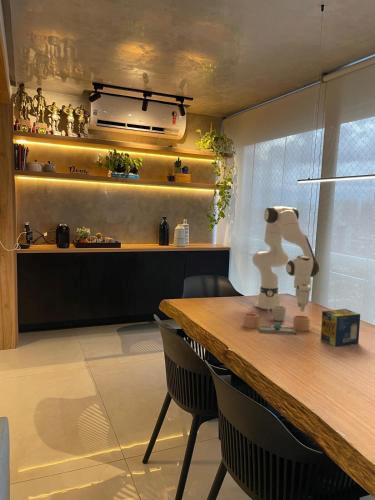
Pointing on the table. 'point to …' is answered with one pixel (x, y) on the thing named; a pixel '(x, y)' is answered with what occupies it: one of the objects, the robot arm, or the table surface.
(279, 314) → the cup
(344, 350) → the table surface
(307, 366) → the table surface
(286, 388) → the table surface
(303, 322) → the tube
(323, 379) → the table surface
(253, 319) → the tube
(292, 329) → the tray
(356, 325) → the protein box
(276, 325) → the ball
